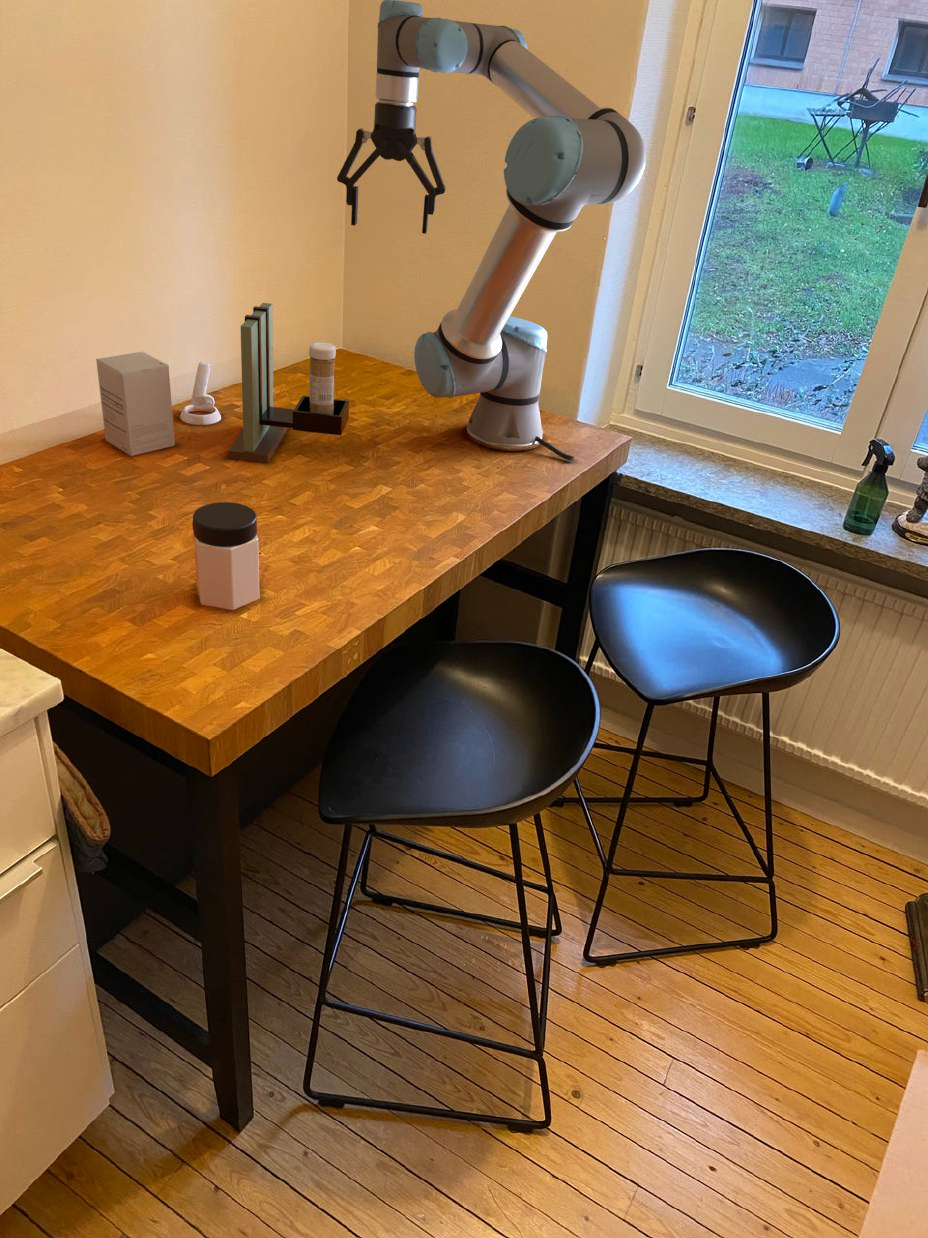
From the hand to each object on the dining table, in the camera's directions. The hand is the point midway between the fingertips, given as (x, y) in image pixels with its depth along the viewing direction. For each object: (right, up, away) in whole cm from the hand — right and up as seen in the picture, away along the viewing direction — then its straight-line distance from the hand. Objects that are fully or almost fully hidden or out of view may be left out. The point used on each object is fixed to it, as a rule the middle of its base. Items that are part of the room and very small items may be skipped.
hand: (389, 228), depth 180 cm
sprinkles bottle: (-12, -39, -9) cm, 42 cm away
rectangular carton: (-44, -44, -12) cm, 63 cm away
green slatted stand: (-24, -42, -6) cm, 49 cm away
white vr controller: (-37, -36, +1) cm, 52 cm away
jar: (-18, -72, -52) cm, 90 cm away
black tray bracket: (-16, -39, -9) cm, 43 cm away
